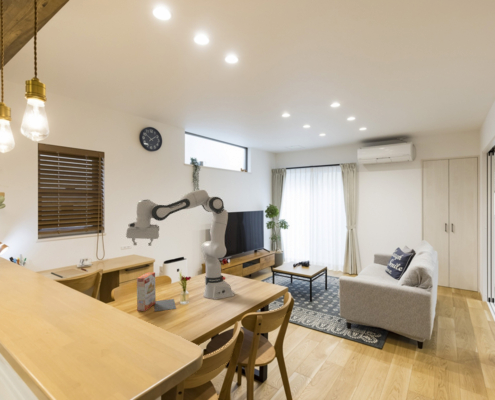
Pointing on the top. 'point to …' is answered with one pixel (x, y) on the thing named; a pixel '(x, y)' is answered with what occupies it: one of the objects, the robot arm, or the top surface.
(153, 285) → the cracker box
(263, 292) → the top surface
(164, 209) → the robot arm
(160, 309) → the mat
